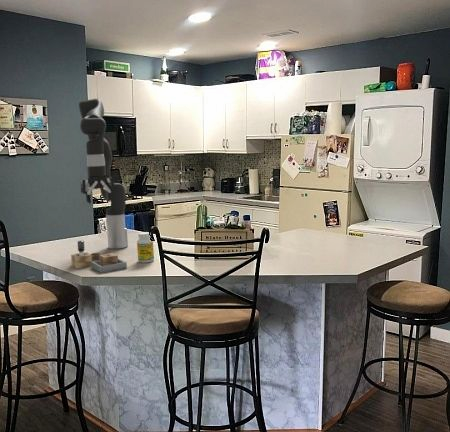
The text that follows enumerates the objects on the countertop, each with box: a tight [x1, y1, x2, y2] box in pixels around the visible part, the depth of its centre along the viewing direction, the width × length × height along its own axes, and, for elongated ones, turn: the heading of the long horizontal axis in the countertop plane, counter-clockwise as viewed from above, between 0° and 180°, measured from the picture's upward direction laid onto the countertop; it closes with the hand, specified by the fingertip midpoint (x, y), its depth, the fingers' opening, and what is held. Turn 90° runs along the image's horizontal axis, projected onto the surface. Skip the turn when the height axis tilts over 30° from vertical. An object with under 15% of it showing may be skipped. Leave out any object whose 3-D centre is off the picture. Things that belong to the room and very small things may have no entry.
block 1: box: [70, 251, 92, 269], centre depth 223 cm, size 7×7×5 cm
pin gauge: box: [77, 240, 85, 256], centre depth 222 cm, size 3×3×11 cm
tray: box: [90, 258, 128, 274], centre depth 217 cm, size 12×12×3 cm
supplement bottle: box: [136, 231, 155, 263], centre depth 227 cm, size 7×7×13 cm
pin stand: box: [90, 252, 103, 261], centre depth 231 cm, size 5×5×3 cm
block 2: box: [99, 252, 119, 266], centre depth 217 cm, size 6×6×5 cm
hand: (98, 202), depth 219 cm, fingers open, 8 cm apart
